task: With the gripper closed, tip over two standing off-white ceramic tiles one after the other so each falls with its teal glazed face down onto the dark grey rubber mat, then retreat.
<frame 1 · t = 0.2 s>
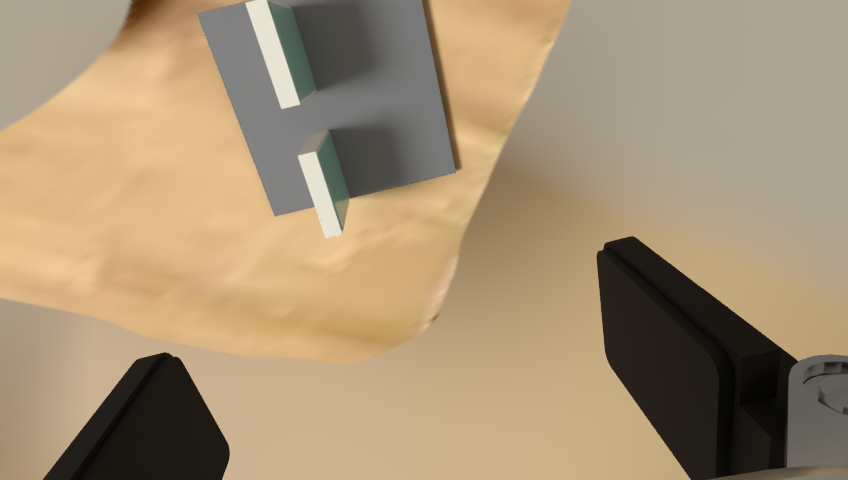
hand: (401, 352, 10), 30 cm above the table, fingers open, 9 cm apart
tile a: (296, 52, 35), point 1 cm above the table, touching mat
mat: (338, 99, 37), on the table
tile b: (332, 166, 38), point 1 cm above the table, touching mat
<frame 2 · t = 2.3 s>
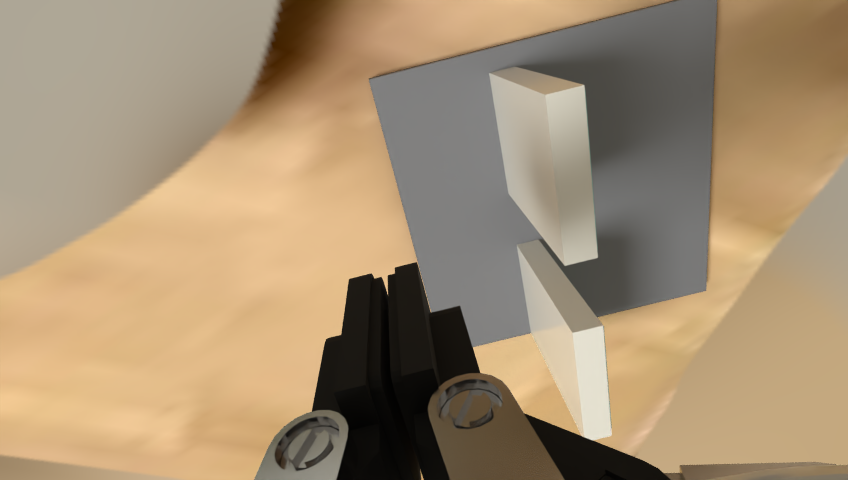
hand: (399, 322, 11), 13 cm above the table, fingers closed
tile a: (511, 133, 22), point 1 cm above the table, touching mat
mat: (556, 195, 24), on the table
tile b: (534, 288, 26), point 1 cm above the table, touching mat
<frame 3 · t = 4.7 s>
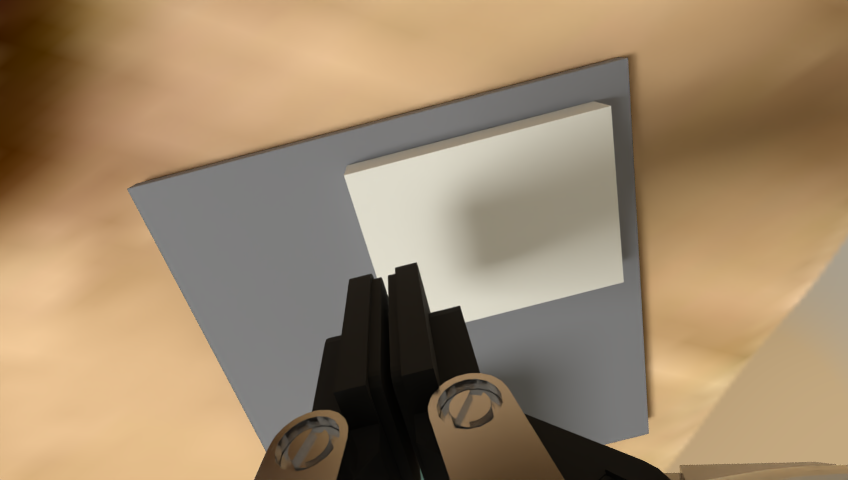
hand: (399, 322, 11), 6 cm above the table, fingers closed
tile a: (372, 256, 15), point 1 cm above the table, tilted 90°, touching mat
mat: (432, 323, 18), on the table
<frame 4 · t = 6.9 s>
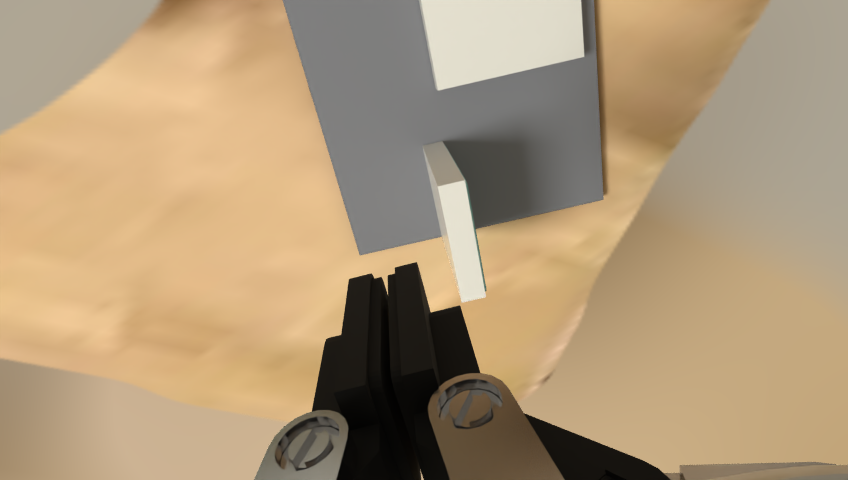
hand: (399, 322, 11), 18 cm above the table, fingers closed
tile a: (425, 30, 24), point 1 cm above the table, tilted 90°, touching mat
mat: (458, 99, 27), on the table
tile b: (442, 190, 28), point 1 cm above the table, touching mat
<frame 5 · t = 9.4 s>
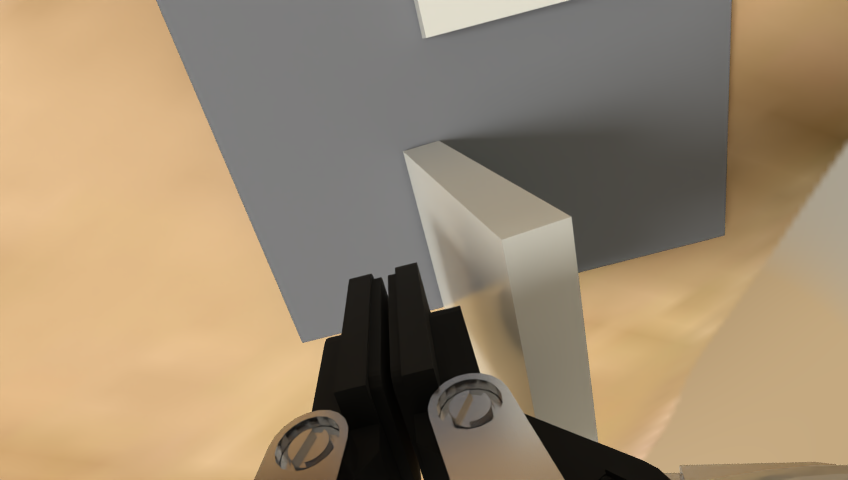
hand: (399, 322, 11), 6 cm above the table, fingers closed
mat: (466, 62, 14), on the table
tile b: (441, 231, 16), point 1 cm above the table, tilted 9°, touching mat
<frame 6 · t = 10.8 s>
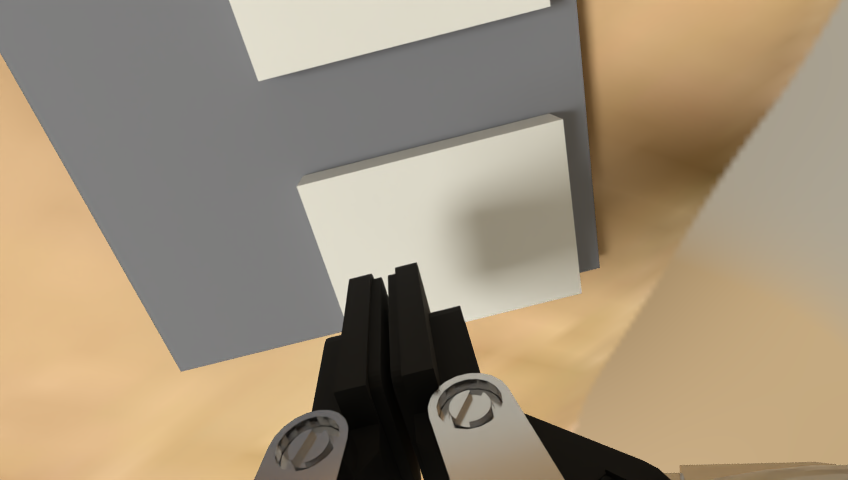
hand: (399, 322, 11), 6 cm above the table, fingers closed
mat: (322, 100, 14), on the table
tile b: (330, 266, 15), point 1 cm above the table, tilted 90°, touching mat
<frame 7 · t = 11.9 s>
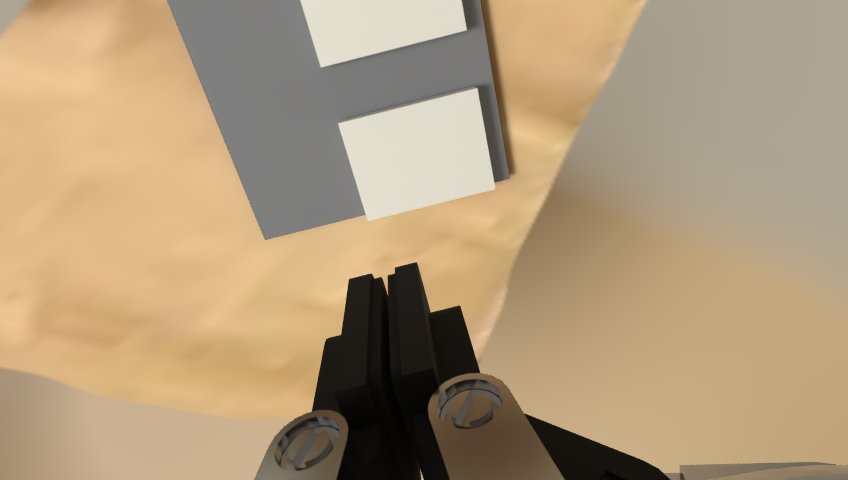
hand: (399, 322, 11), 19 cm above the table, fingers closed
tile a: (303, 7, 24), point 1 cm above the table, tilted 90°, touching mat
mat: (350, 79, 27), on the table
tile b: (354, 171, 27), point 1 cm above the table, tilted 90°, touching mat
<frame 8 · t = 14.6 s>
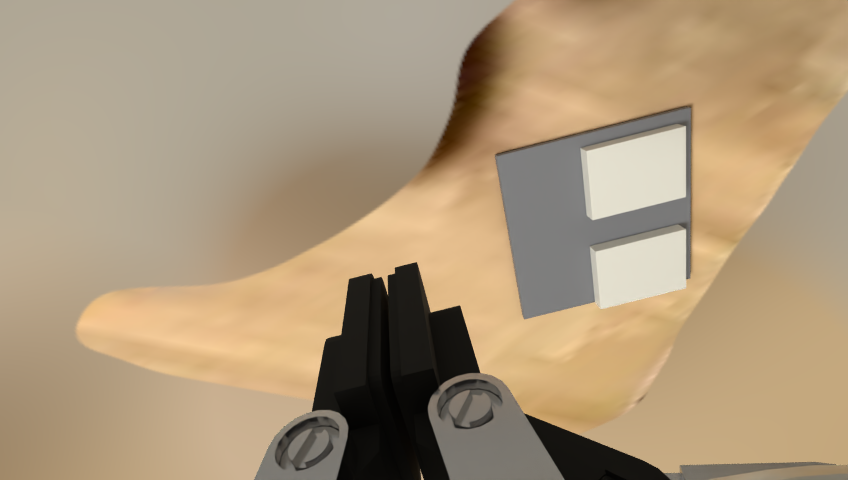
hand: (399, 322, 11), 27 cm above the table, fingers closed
tile a: (586, 184, 38), point 1 cm above the table, tilted 90°, touching mat
mat: (597, 219, 41), on the table
tile b: (595, 278, 41), point 1 cm above the table, tilted 90°, touching mat
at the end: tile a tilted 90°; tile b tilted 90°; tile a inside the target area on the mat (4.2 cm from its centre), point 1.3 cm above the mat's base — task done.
